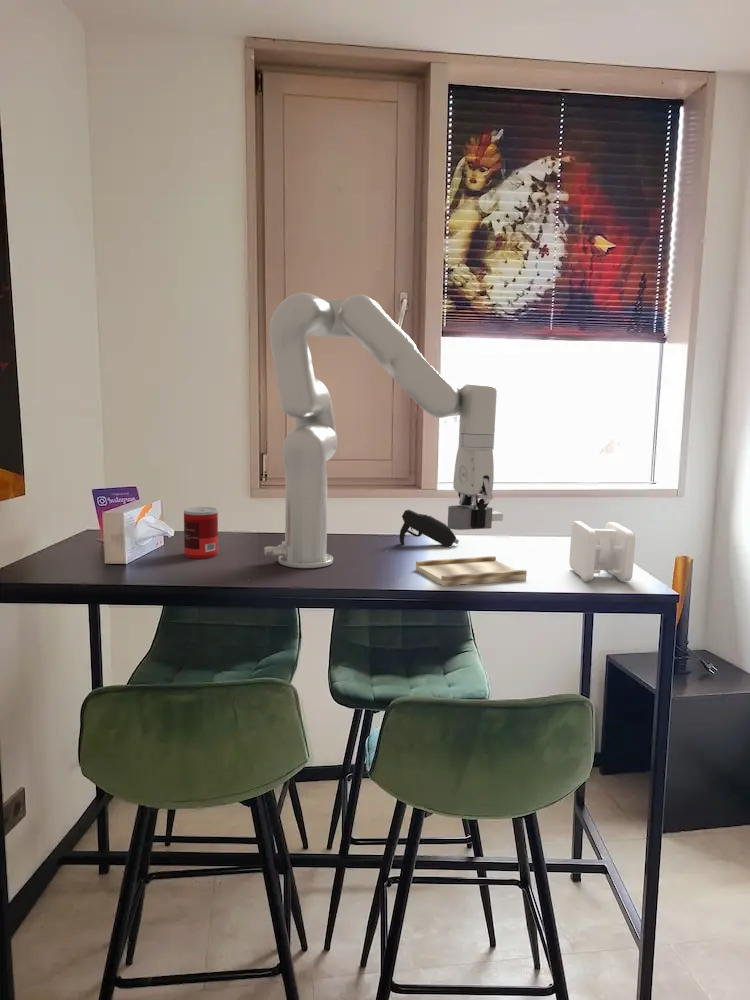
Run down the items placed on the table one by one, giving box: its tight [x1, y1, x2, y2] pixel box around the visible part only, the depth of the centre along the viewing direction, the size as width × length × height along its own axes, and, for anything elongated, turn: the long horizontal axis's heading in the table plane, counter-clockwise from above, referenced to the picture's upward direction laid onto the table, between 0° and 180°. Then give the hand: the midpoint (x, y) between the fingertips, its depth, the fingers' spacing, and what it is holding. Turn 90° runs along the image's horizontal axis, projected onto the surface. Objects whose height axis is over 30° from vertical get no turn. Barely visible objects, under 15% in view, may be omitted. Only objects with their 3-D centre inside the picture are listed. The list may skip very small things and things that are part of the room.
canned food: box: [183, 506, 219, 560], centre depth 167 cm, size 8×8×11 cm
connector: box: [447, 504, 504, 531], centre depth 155 cm, size 12×4×4 cm, turn 111°
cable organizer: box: [568, 520, 636, 583], centre depth 158 cm, size 15×11×12 cm
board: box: [415, 555, 528, 587], centre depth 157 cm, size 20×14×2 cm
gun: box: [399, 509, 460, 548], centre depth 185 cm, size 3×16×10 cm, turn 89°
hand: (472, 524), depth 155 cm, fingers closed on connector, 4 cm apart
